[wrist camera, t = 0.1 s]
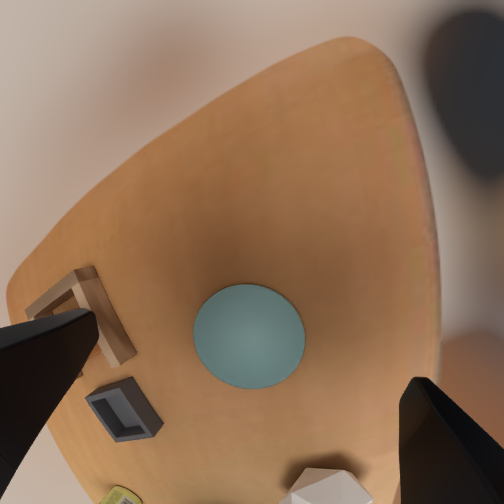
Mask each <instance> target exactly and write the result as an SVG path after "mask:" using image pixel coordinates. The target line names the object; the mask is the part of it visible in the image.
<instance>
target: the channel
mask: <svg viewBox="0 0 504 504" xmlns="http://www.w3.org/2000/svg"><path fill="white" fill-rule="evenodd" d="M73 295H75V297H76V300H77V302H78V304H79V306H80V308H86V309H89V310H92V311H93V312H94V313H95V314H96V318H97V324H98V329H99V340H98V342H97V343H98V345H99V347H100V348H101V350H102V352H103V354H104V356H105V357H106V359H107V361H108V363H109V365H110V366H111V368H115V367H118V366H120V365H122V364H123V363H124V362H126V361H127V360H128V359H130V358H131V357H133V356H134V355H135V354H137V352H136V351H135V349H134V347H133V345H132V343H131V342H130V340H129V338H128V336H127V334H126V332H125V330H124V329H123V327H122V325H121V323H120V321H119V319H118V317H117V315H116V313H115V311H114V309H113V307H112V305H111V303H110V301H109V299H108V297H107V294H106V292H105V290H104V288H103V286H102V284H101V281H100V279H99V277H98V275H97V272H96V270H95V268H94V266H92V267H86V268H81V269H76V270H73V271H72V272H70V273H69V274H68V275H66V276H65V277H64V278H63V279H61V280H60V281H59V282H58V283H56V284H55V285H54V286H53V287H51V288H50V289H49V290H48V291H47V292H45V293H44V294H43V295H42V296H41V297H39V298H38V299H37V300H36V301H35V302H33V303H32V304H31V305H30V306H29V307H28V308H27V309H25V312H26V315H27V317H28V320H29V321H31V320H35V319H39V318H43V317H47V316H51V315H53V313H52V310H53V309H54V308H56V307H57V306H59V305H60V304H61V303H63V302H64V301H66V300H67V299H68V298H70V297H71V296H73ZM82 375H83V373H82V371H80V373H79V375H78V376H77V378H79V377H80V376H82ZM77 378H76V379H77Z"/></svg>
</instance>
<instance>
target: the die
mask: <svg viewBox="0 0 504 504" xmlns="http://www.w3.org/2000/svg"><path fill="white" fill-rule="evenodd" d="M373 500H374V498H373V497H372V496H371V495H370V494H369V492H368V491H367V490H366V489H365V488H364V487H363V486H362V484H361V483H360V482H359V481H358V480H357V479H356V478H355V476H354V475H353V474H352V473H351V472H348V471H345V470H334V469H318V468H306V469H305V470H304V471H303V473H302V474H301V475H300V477H299V478H298V479H297V481H296V482H295V483H294V485H293V486H292V487H291V489H290V490H289V491H288V492H287V494H286V495H285V496H284V497H283V499H282V500H281V501H280V502H279V504H371V503H372V501H373Z"/></svg>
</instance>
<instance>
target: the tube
mask: <svg viewBox="0 0 504 504" xmlns="http://www.w3.org/2000/svg"><path fill="white" fill-rule="evenodd" d="M99 504H142V502H141V500H140V499H139V498H138V497H137V496H136V495H135V494H133V493H132V492H131V491H129V490H127V489H125V488H123V487H120V486H115V487H113V488H112V490H111V491H110V492H109V493H108V494H107V495H106V496H105V497H104V498H103V500H102V501H101V502H100V503H99Z"/></svg>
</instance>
